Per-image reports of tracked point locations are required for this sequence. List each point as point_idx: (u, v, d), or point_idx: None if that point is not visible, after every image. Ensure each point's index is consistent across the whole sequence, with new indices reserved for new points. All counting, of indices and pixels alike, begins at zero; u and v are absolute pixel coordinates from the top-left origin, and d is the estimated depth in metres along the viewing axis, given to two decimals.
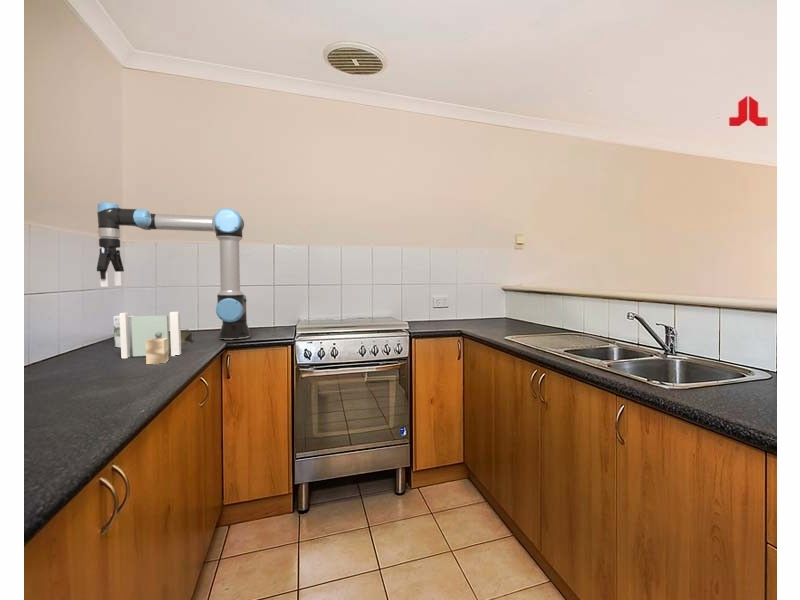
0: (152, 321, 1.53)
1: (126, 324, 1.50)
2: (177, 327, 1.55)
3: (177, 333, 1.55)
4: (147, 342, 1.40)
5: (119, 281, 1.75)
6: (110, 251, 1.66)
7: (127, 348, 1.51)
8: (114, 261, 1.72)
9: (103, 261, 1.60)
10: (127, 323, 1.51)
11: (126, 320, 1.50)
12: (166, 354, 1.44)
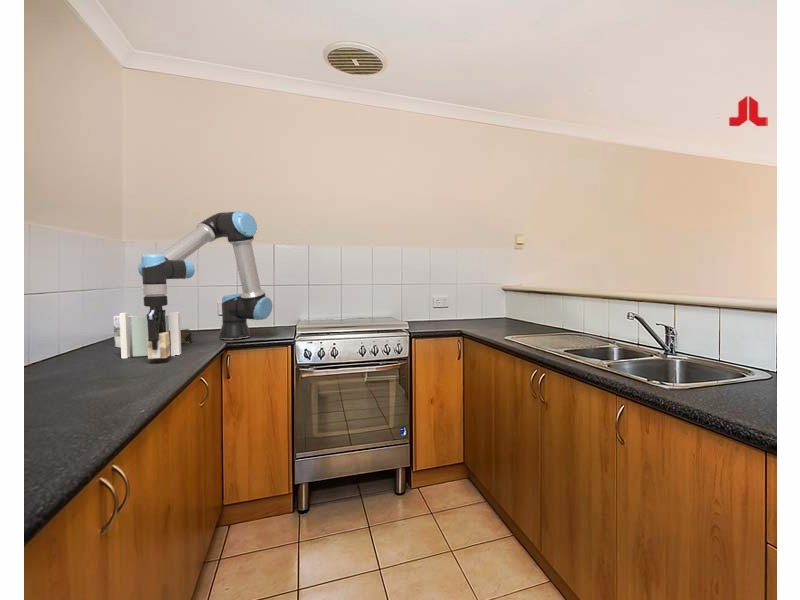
0: None
1: (126, 324, 1.50)
2: (177, 327, 1.55)
3: (177, 333, 1.55)
4: None
5: None
6: (157, 311, 1.40)
7: (127, 348, 1.51)
8: (158, 323, 1.44)
9: (154, 330, 1.37)
10: (127, 323, 1.51)
11: (126, 320, 1.50)
12: (167, 348, 1.45)
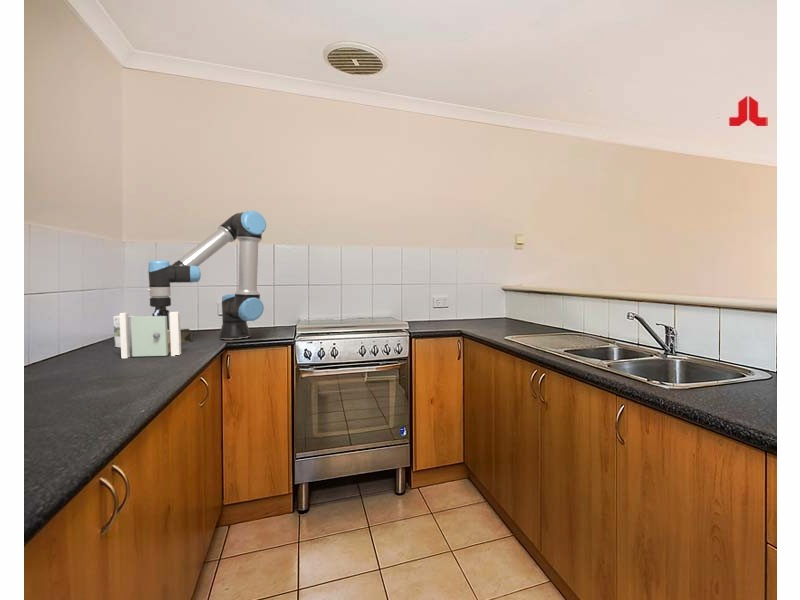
0: (151, 321, 1.52)
1: (126, 324, 1.50)
2: (177, 327, 1.55)
3: (177, 333, 1.55)
4: None
5: None
6: (161, 310, 1.58)
7: (127, 348, 1.51)
8: None
9: None
10: (127, 323, 1.51)
11: (126, 320, 1.50)
12: (170, 344, 1.62)
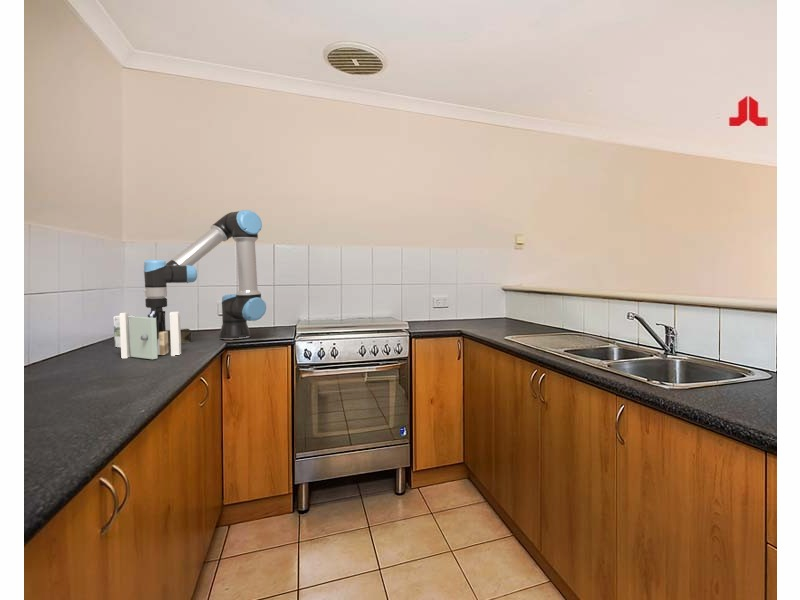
0: (142, 323, 1.48)
1: (126, 324, 1.50)
2: (177, 327, 1.55)
3: (177, 333, 1.55)
4: None
5: None
6: (157, 311, 1.53)
7: (127, 348, 1.51)
8: (159, 322, 1.58)
9: None
10: (127, 323, 1.51)
11: (126, 320, 1.50)
12: (166, 346, 1.58)
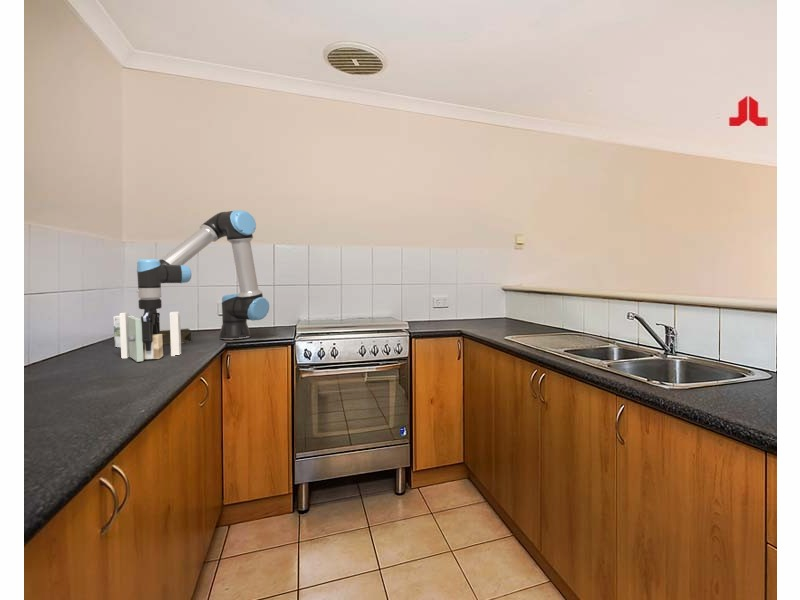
0: (132, 323, 1.45)
1: (126, 324, 1.50)
2: (177, 327, 1.55)
3: (177, 333, 1.55)
4: None
5: None
6: (151, 313, 1.46)
7: (127, 348, 1.51)
8: (152, 325, 1.50)
9: (147, 332, 1.43)
10: (127, 323, 1.51)
11: (126, 320, 1.50)
12: (160, 349, 1.50)
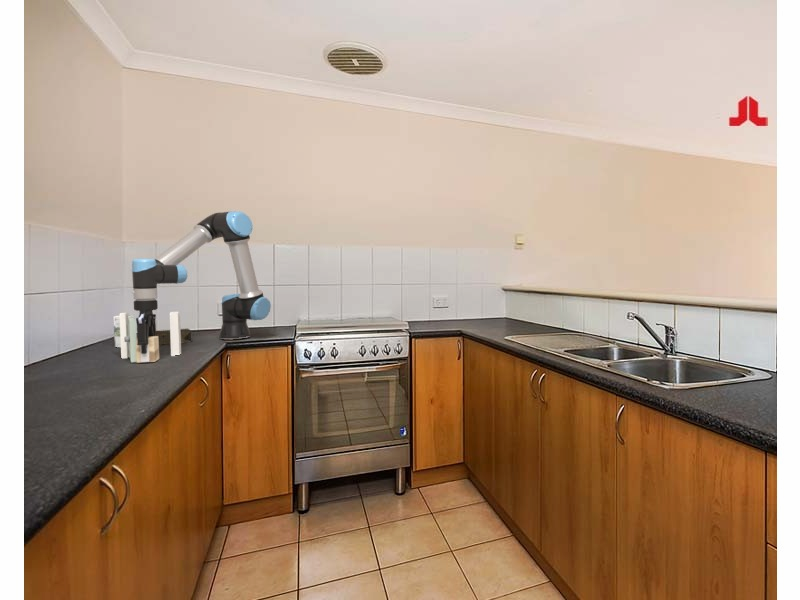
0: None
1: (126, 324, 1.50)
2: (177, 327, 1.55)
3: (177, 333, 1.55)
4: None
5: None
6: (147, 315, 1.41)
7: (127, 348, 1.51)
8: (148, 327, 1.46)
9: (143, 334, 1.38)
10: (127, 323, 1.51)
11: (126, 320, 1.50)
12: (156, 352, 1.46)
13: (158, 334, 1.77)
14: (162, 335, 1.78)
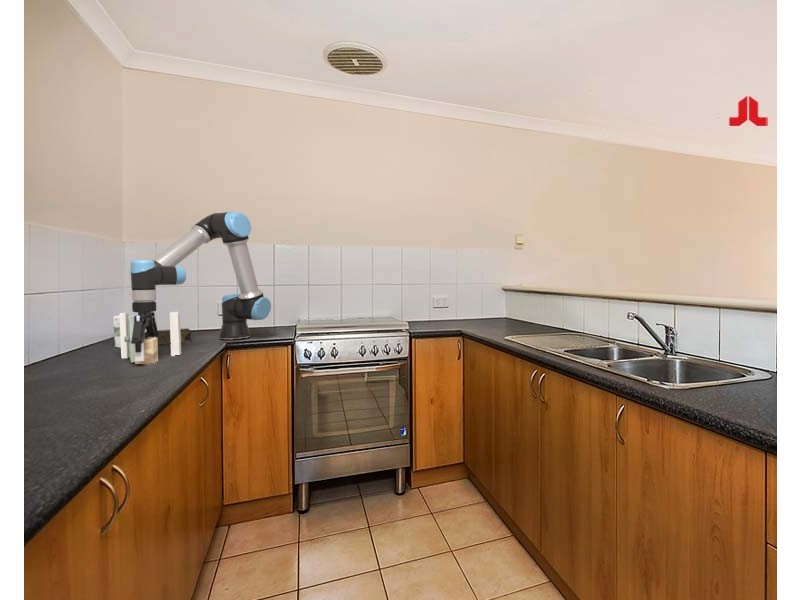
0: None
1: (126, 324, 1.50)
2: (177, 327, 1.55)
3: (177, 333, 1.55)
4: None
5: None
6: (145, 317, 1.40)
7: (127, 348, 1.51)
8: (148, 326, 1.46)
9: (138, 332, 1.34)
10: (127, 323, 1.51)
11: (126, 320, 1.50)
12: (155, 354, 1.44)
13: None
14: (162, 335, 1.79)
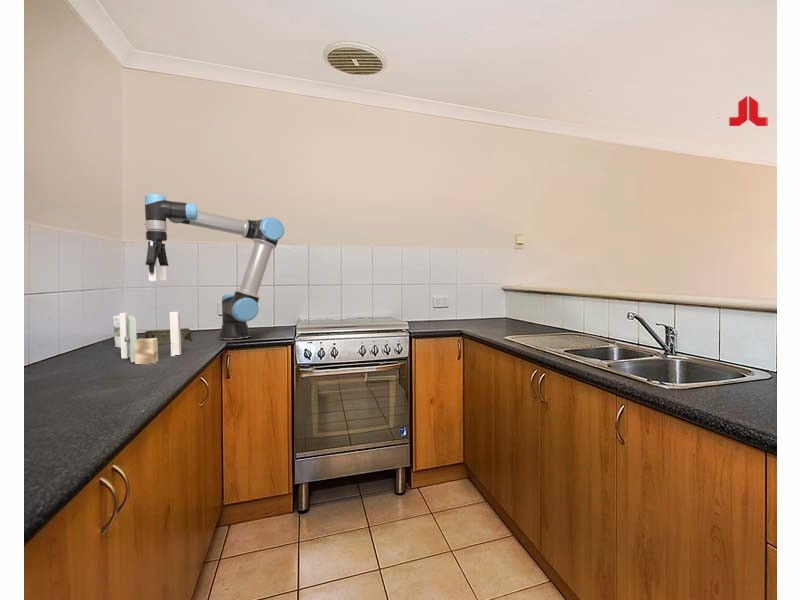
0: None
1: (126, 324, 1.50)
2: (177, 327, 1.55)
3: (177, 333, 1.55)
4: (136, 342, 1.40)
5: (164, 276, 1.70)
6: (157, 244, 1.60)
7: (127, 348, 1.51)
8: (160, 255, 1.66)
9: (152, 254, 1.55)
10: (127, 323, 1.51)
11: (126, 320, 1.50)
12: (155, 354, 1.44)
13: (158, 334, 1.79)
14: (162, 335, 1.80)
